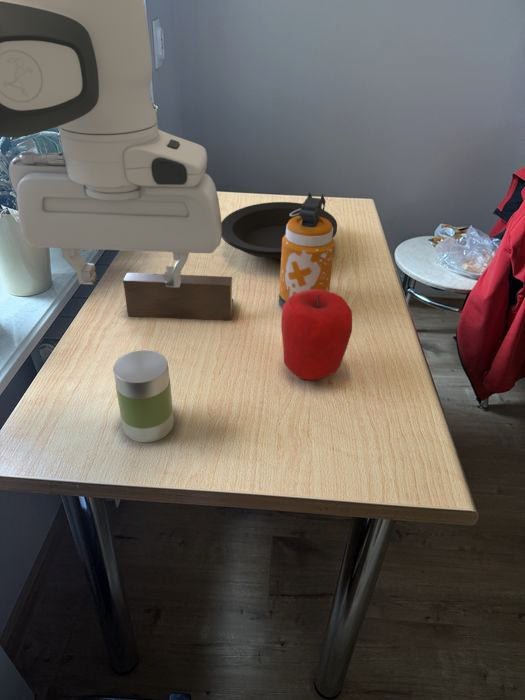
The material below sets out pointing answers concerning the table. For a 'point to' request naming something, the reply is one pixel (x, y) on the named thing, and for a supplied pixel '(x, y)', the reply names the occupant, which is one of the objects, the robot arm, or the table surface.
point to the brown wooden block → (179, 297)
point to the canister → (306, 251)
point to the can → (144, 395)
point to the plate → (262, 227)
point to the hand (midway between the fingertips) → (130, 283)
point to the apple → (315, 333)
